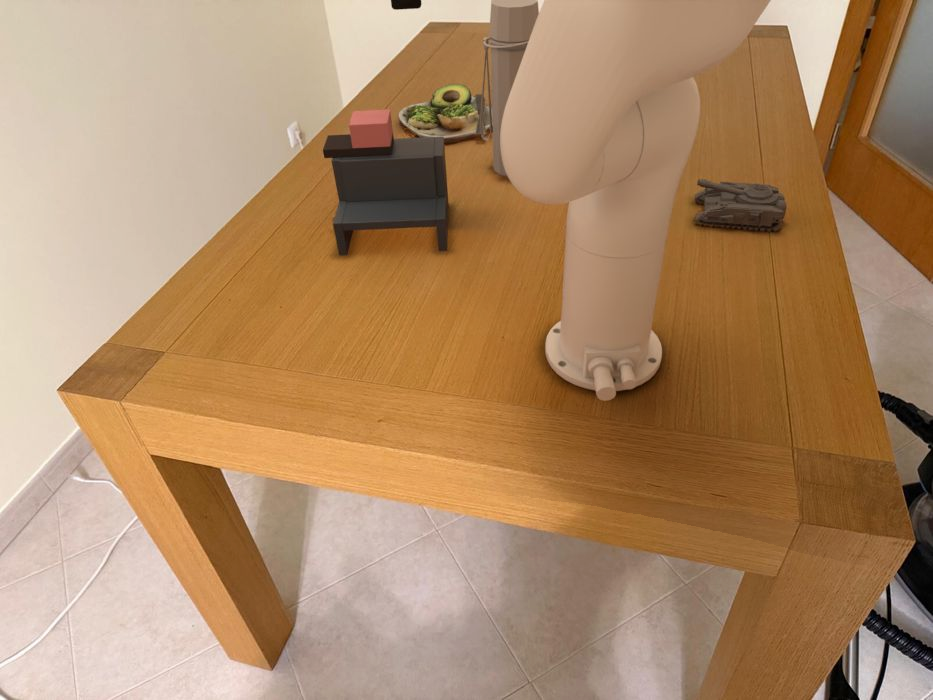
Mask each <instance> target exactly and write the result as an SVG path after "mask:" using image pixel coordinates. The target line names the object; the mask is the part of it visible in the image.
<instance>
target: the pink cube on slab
mask: <svg viewBox="0 0 933 700" xmlns="http://www.w3.org/2000/svg"><path fill="white" fill-rule="evenodd" d="M348 127H349V134H329V135H327V137H326V139H325V143H324V145H323V147H322V154H323V158H324V159H332V158H340V157H361V156H383V155H392V149H393V143H394V139H395V137H394V129H393V122H392V113H391V108H388V109H387V108H386V109H370V110H369V109H367V110H353V111H352V114H351V117H350V120H349V124H348Z"/></svg>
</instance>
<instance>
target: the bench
mask: <svg viewBox="0 0 933 700" xmlns="http://www.w3.org/2000/svg"><path fill="white" fill-rule="evenodd" d="M331 165H332V171H333V176H334V181H335V182H334V183H335V187H336V192H337V193H336V194H337V198H338V204H337V206H336V207H337V208H336V210H335V213H334V218H333V222H332V227H333V231H334V237H335V241H336V247H337V252H338V256H348V255H349V251H350V247H351V242H352V238H353V234H354V231H369V230H371V231H372V230H393V229H396V230H397V229H414V228H415V229H419V228H436V238H437V250H438V251H437V252H448V243H449V215H450V213H449V211H450V210H449V209H450V206H449V205H450V204H449V203H450V202H449V191H448V189H449V188H448V177H447V176H448V175H447V163H446V149H445V143H444V137H423V138H421V137H406V138H405V137H404V138H394V143H393V149H392V155H383V156H361V157H340V158H331Z"/></svg>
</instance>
